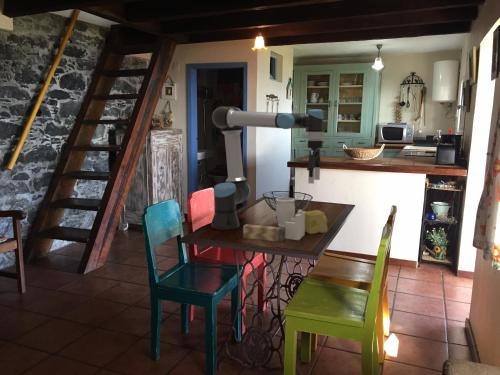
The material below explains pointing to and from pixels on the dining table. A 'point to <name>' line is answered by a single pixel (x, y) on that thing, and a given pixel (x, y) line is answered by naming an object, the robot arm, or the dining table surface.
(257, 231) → the rail
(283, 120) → the robot arm
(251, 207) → the dining table surface
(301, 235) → the white u-channel bracket
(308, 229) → the cheese
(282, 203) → the white cup
